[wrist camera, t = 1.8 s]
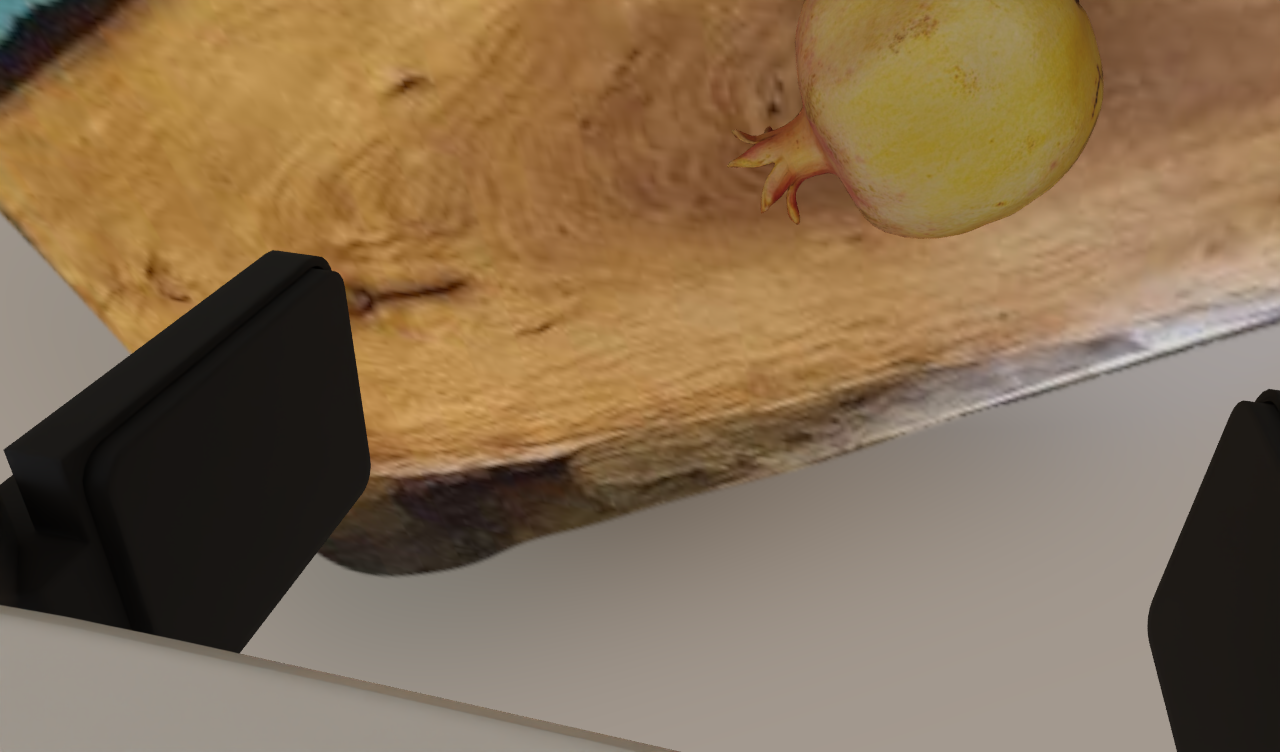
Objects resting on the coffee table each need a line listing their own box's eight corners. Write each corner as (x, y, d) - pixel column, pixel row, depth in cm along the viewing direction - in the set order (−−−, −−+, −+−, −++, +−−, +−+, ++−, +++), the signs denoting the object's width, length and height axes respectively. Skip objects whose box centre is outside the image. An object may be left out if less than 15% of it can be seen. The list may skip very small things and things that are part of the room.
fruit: (1119, -243, 17) (632, 61, 21) (1278, 133, 17) (777, 349, 22) (1095, -165, 23) (722, 57, 27) (1213, 110, 23) (832, 283, 28)
